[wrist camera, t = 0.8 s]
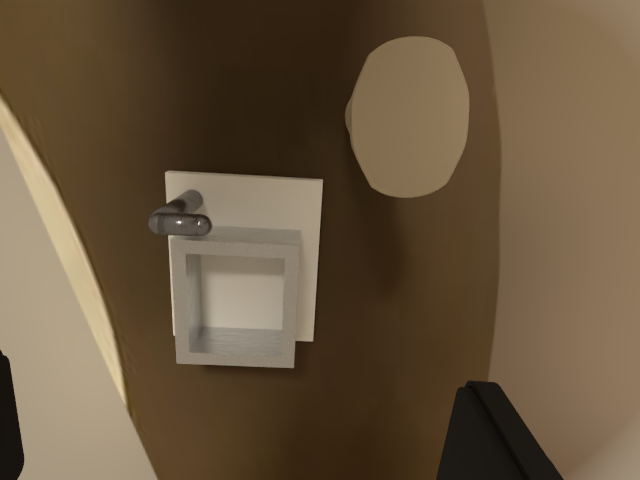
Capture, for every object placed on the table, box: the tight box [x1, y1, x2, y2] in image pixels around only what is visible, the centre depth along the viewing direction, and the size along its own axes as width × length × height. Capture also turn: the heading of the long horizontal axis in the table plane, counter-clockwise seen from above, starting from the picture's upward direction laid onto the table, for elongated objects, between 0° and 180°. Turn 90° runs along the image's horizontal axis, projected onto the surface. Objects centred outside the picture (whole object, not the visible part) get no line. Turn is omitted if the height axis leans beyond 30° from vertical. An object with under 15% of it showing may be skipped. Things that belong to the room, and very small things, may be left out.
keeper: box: [148, 170, 323, 368], centre depth 31 cm, size 14×12×9 cm
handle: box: [345, 36, 469, 198], centre depth 24 cm, size 5×6×15 cm
